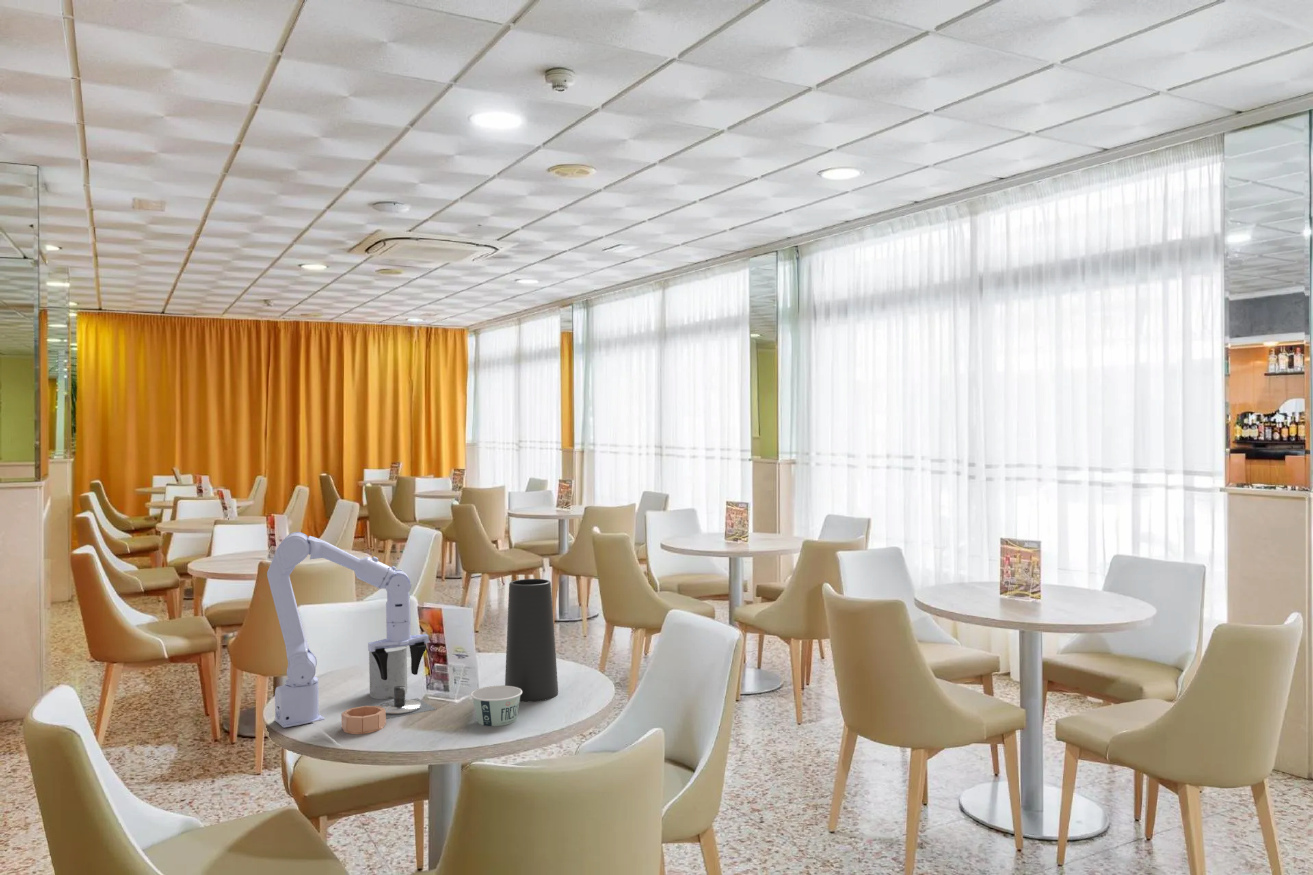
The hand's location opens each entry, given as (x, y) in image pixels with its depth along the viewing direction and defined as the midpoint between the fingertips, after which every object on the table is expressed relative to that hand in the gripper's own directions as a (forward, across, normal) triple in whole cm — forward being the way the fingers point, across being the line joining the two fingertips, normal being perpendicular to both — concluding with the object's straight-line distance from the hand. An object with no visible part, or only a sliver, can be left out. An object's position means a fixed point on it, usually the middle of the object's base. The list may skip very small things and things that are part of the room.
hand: (399, 676), depth 228 cm
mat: (+8, 0, 0) cm, 8 cm away
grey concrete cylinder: (+8, +3, +15) cm, 17 cm away
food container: (+9, +15, -22) cm, 28 cm away
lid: (+8, 0, 0) cm, 8 cm away
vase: (+8, +32, -8) cm, 34 cm away
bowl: (+8, -12, -9) cm, 17 cm away
